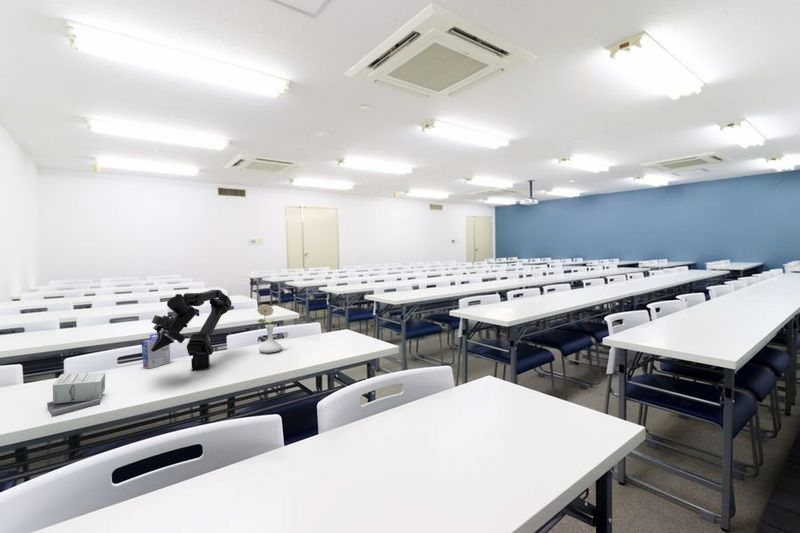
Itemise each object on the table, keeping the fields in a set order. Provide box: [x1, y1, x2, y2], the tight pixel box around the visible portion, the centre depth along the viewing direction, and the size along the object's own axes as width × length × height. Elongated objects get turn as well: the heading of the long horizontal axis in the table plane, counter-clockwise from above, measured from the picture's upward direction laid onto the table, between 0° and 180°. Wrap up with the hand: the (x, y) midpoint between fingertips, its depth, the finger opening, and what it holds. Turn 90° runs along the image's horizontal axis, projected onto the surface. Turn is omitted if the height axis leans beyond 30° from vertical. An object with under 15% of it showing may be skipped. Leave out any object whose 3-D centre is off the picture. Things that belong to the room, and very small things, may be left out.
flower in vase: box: [256, 304, 283, 354], centre depth 184 cm, size 13×11×25 cm
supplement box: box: [52, 371, 106, 403], centre depth 125 cm, size 7×7×13 cm
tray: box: [46, 398, 101, 417], centre depth 121 cm, size 12×11×2 cm
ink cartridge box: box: [141, 332, 171, 370], centre depth 163 cm, size 10×6×14 cm, turn 153°
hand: (152, 351), depth 139 cm, fingers closed
